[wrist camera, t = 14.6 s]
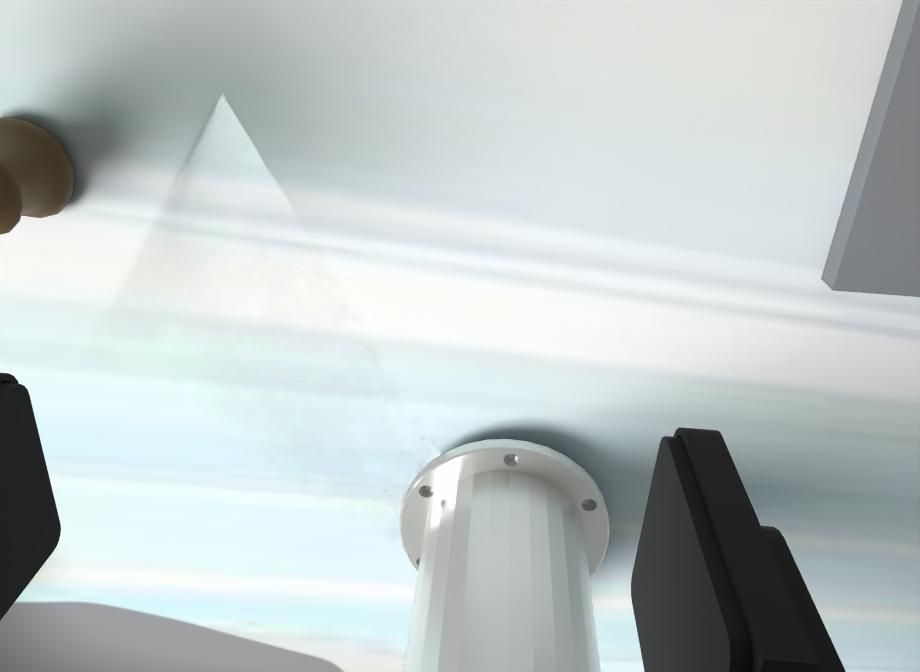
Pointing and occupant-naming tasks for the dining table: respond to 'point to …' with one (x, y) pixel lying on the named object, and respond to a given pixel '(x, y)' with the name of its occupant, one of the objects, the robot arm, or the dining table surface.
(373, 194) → the dining table surface
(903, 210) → the board
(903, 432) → the dining table surface
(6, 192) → the kendama
